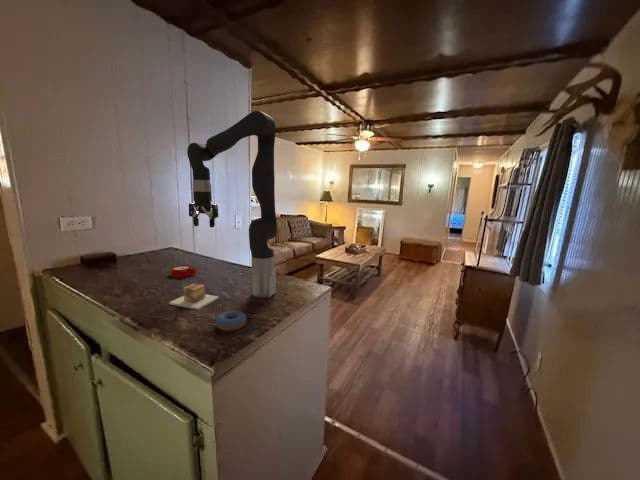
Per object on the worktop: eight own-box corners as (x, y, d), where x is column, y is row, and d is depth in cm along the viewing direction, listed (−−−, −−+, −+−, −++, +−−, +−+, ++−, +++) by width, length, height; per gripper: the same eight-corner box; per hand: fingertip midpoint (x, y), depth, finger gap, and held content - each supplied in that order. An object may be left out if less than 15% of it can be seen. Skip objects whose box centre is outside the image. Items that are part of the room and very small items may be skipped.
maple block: (205, 297, 114) (204, 285, 113) (195, 302, 109) (194, 289, 108) (194, 296, 116) (193, 283, 115) (184, 300, 110) (183, 287, 109)
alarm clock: (181, 264, 152) (199, 262, 145) (184, 275, 153) (202, 273, 146) (163, 268, 143) (182, 266, 136) (166, 280, 144) (185, 279, 136)
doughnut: (208, 328, 91) (209, 315, 90) (228, 317, 100) (229, 305, 99) (233, 337, 87) (234, 324, 87) (251, 325, 97) (253, 312, 96)
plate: (218, 298, 116) (218, 296, 116) (198, 309, 105) (198, 307, 104) (191, 293, 120) (191, 291, 120) (169, 304, 109) (169, 302, 109)
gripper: (221, 191, 124) (222, 226, 127) (195, 190, 128) (197, 224, 131) (209, 191, 117) (211, 228, 120) (182, 190, 121) (185, 226, 124)
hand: (204, 226), depth 125 cm, fingers open, 8 cm apart
